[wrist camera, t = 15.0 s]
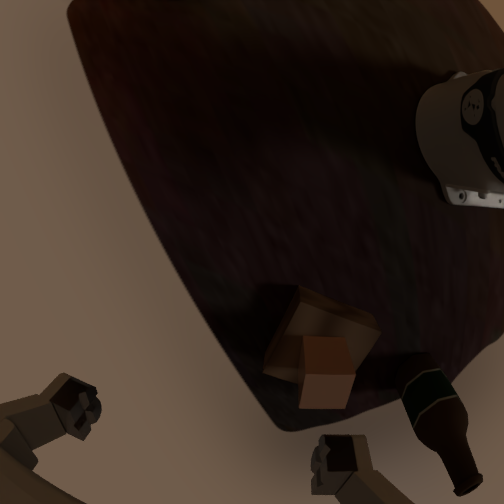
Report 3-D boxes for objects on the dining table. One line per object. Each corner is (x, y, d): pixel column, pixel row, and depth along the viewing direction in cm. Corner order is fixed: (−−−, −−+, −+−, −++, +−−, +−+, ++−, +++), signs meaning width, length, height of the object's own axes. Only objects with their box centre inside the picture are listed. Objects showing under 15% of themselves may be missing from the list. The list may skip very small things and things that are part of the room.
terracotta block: (344, 337, 32) (355, 374, 25) (337, 369, 33) (344, 408, 26) (303, 335, 32) (305, 373, 25) (298, 368, 33) (298, 408, 27)
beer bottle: (411, 345, 36) (478, 472, 13) (443, 356, 36) (510, 464, 13) (383, 384, 38) (425, 511, 15) (417, 391, 38) (463, 502, 15)
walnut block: (371, 313, 36) (382, 332, 31) (333, 373, 39) (337, 395, 34) (298, 284, 36) (300, 301, 31) (265, 350, 39) (262, 372, 34)
